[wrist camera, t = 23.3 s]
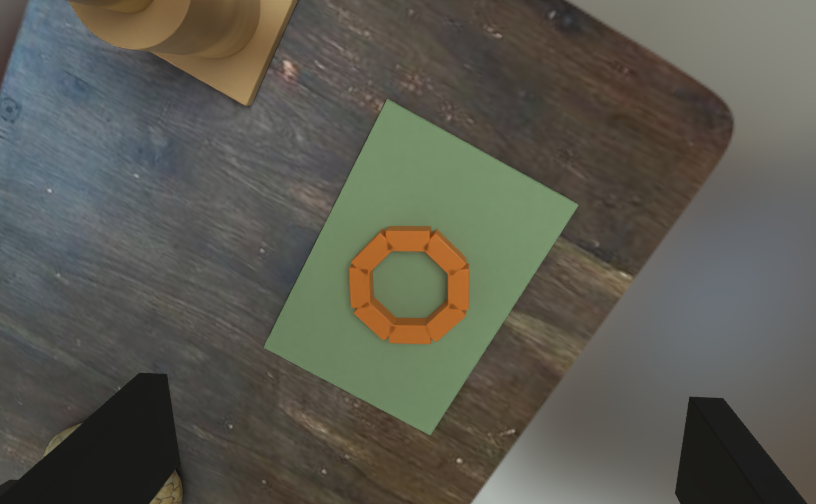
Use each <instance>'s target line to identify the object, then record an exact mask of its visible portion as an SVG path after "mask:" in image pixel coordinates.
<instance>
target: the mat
mask: <svg viewBox="0 0 816 504" xmlns="http://www.w3.org/2000/svg"><path fill="white" fill-rule="evenodd" d="M577 207H578V204H577V203H575V202H573V201H572V200H570V199H568V198H566V197H564V196H563V195H561V194H559V193H557V192H555V191H554V190H552V189H550V188H548V187H546V186H545V185H543V184H541V183H539V182H537V181H535V180H534V179H532V178H530V177H528V176H526V175H525V174H523V173H521V172H519V171H517V170H516V169H514V168H512V167H510V166H508V165H507V164H505V163H503V162H501V161H499V160H497V159H496V158H494V157H492V156H490V155H488V154H487V153H485V152H483V151H481V150H479V149H478V148H476V147H474V146H472V145H470V144H469V143H467V142H465V141H463V140H461V139H459V138H458V137H456V136H454V135H452V134H450V133H449V132H447V131H445V130H443V129H441V128H440V127H438V126H436V125H434V124H432V123H431V122H429V121H427V120H425V119H423V118H421V117H420V116H418V115H416V114H414V113H412V112H411V111H409V110H407V109H405V108H403V107H402V106H400V105H398V104H396V103H394V102H393V101H391V100H389V99H387V100H386V102H385V104H384V106H383V108H382V110H381V112H380V114H379V116H378V118H377V120H376V122H375V124H374V126H373V128H372V130H371V132H370V134H369V136H368V138H367V140H366V142H365V144H364V146H363V148H362V150H361V152H360V154H359V156H358V158H357V160H356V162H355V165H354V167H353V169H352V171H351V173H350V175H349V177H348V179H347V181H346V183H345V185H344V187H343V189H342V191H341V193H340V195H339V197H338V199H337V201H336V203H335V205H334V207H333V209H332V211H331V213H330V215H329V217H328V219H327V221H326V223H325V225H324V227H323V229H322V231H321V233H320V235H319V237H318V239H317V241H316V243H315V245H314V247H313V249H312V251H311V253H310V255H309V257H308V259H307V261H306V263H305V265H304V267H303V269H302V271H301V273H300V275H299V277H298V279H297V281H296V283H295V285H294V287H293V289H292V291H291V293H290V295H289V297H288V299H287V301H286V303H285V305H284V307H283V309H282V311H281V313H280V315H279V317H278V319H277V321H276V323H275V325H274V327H273V329H272V331H271V333H270V335H269V337H268V339H267V341H266V343H265V345H264V348H265V349H267V350H269V351H271V352H273V353H275V354H277V355H278V356H280V357H282V358H284V359H286V360H288V361H290V362H292V363H294V364H295V365H297V366H299V367H301V368H303V369H305V370H307V371H309V372H311V373H313V374H314V375H316V376H318V377H320V378H322V379H324V380H326V381H328V382H330V383H332V384H333V385H335V386H337V387H339V388H341V389H343V390H345V391H347V392H349V393H351V394H352V395H354V396H356V397H358V398H360V399H362V400H364V401H366V402H368V403H370V404H371V405H373V406H375V407H377V408H379V409H381V410H383V411H385V412H387V413H389V414H390V415H392V416H394V417H396V418H398V419H400V420H402V421H404V422H406V423H408V424H409V425H411V426H413V427H415V428H417V429H419V430H421V431H423V432H425V433H427V434H428V435H431V434H432V432H433V430H434V429H435V427H436V426H437V424H438V423H439V421H440V420H441V418H442V416H443V415H444V413H445V412H446V410H447V409H448V407H449V406H450V404H451V403H452V401H453V399H454V398H455V396H456V395H457V393H458V392H459V390H460V389H461V387H462V385H463V384H464V382H465V381H466V379H467V378H468V376H469V375H470V373H471V371H472V370H473V368H474V367H475V365H476V364H477V362H478V361H479V359H480V357H481V356H482V354H483V353H484V351H485V350H486V348H487V347H488V345H489V343H490V342H491V340H492V339H493V337H494V336H495V334H496V333H497V331H498V330H499V328H500V326H501V325H502V323H503V322H504V320H505V319H506V317H507V316H508V314H509V312H510V311H511V309H512V308H513V306H514V305H515V303H516V302H517V300H518V298H519V297H520V295H521V294H522V292H523V291H524V289H525V288H526V286H527V284H528V283H529V281H530V280H531V278H532V277H533V275H534V274H535V272H536V270H537V269H538V267H539V266H540V264H541V263H542V261H543V260H544V258H545V257H546V255H547V253H548V252H549V250H550V249H551V247H552V246H553V244H554V243H555V241H556V239H557V238H558V236H559V235H560V233H561V232H562V230H563V229H564V227H565V225H566V224H567V222H568V221H569V219H570V218H571V216H572V215H573V213H574V211H575V210H576V208H577ZM388 226H431V233H432V232H433V231H434V230H435V229H438V230H439V231H440V232H441V233H442V234H443V235H444V236H445V237H446V238H447V239H448V240H449V241H450V242H451V243H452V244H453V245H454V246H455V247H456V248H457V249H458V250H459V251H460V252H461V253H462V254H463V255H464V256H465V257H466V258H467V263H469V310H466V316H465V317H464V318H463V319H462V320H461V321H460V322H459V323H457V324H456V325H455V326H454V327H453V328H452V329H451V330H450V331H449V332H447V333H446V334H445V335H444V336H443V337H442V338H441V339H440V340H438V341H437V342H435V341H434V340H433V339H431V344H401V343H389V337H388V338H387V339H385V340H384V341H383V340H382V339H381V338H380V337H379V336H378V335H377V334H376V333H374V332H373V331H372V330H371V329H370V328H369V327H368V326H367V325H366V324H365V323H364V322H363V321H362V320H360V319H359V318H358V317H357V316H356V315H355V314H354V311H355V309H356V308H351V302H350V282H349V267H350V266H351V264H352V263H351V261H352V260H353V258H354V257H355V256H356V255H357V254H358V253H359V252H360V251H361V250H362V249H363V248H364V247H365V246H366V245H367V244H368V243H369V242H370V241H371V240H372V239H373V237H374V236H375V235H376V234H377V233H378V232H379V231H380V230H381V229H385V230H386V229H387V228H388ZM373 289H374V297H375V298H376V299H377V300H378V301H379V302H380V303H381V304H382V305H383V306H384V307H385V308H386V309H388V310H389V311H390V312H391V313H392V314H393V315H394V316H395V317H396V318H427V317H428V316H429V315H431V314H432V313H433V312H434V311H435V310H436V309H437V308H438V307H439V306H440V305H441V304H442V303H444V302H445V301H446V300H447V299H448V274H447V273H446V272H445V271H444V270H443V269H442V268H441V267H440V266H439V265H438V264H437V263H436V262H435V261H434V260H433V259H432V258H431V257H430V256H429V255H428V254H427V253H426V252H425V251H391V252H390V253H389V254H388V255H387V256H386V257H385V258H384V259H383V260H382V261H381V262H380V263H379V264H378V265H377V266H376V267H375V268H374V269H373Z"/></svg>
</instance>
